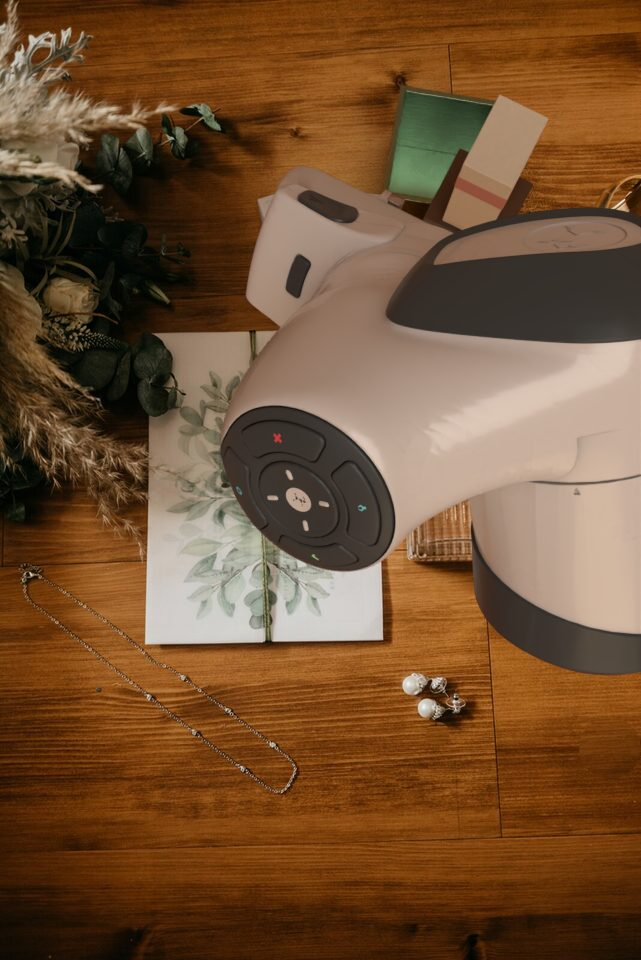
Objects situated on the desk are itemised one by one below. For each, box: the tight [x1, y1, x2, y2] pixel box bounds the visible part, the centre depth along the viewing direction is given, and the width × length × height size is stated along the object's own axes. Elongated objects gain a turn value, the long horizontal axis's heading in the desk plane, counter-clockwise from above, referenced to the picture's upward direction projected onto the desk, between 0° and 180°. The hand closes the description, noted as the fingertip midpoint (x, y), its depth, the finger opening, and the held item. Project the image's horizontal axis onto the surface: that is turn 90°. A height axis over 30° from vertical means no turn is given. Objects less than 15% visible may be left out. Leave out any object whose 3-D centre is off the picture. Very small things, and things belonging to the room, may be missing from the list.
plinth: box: [423, 148, 534, 233], centre depth 72 cm, size 7×7×23 cm
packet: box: [442, 94, 550, 230], centre depth 56 cm, size 4×6×9 cm
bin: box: [381, 84, 496, 220], centre depth 79 cm, size 12×12×11 cm
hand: (455, 237), depth 47 cm, fingers open, 8 cm apart
